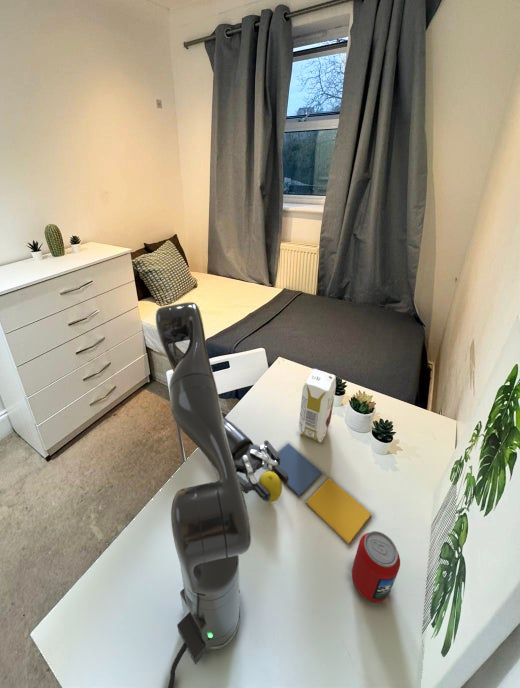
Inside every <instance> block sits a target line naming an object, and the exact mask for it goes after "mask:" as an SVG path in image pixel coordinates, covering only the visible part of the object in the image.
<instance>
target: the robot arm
mask: <svg viewBox="0 0 520 688" xmlns="http://www.w3.org/2000/svg"><path fill="white" fill-rule="evenodd" d="M155 326H156V331H157V335H158V338H159V341H160V343H161V346H162V349H163V351H164V354H165V356H166V358H167V361H168V363H169V364H170V366H171V370H172V374H171V377H170V379H169V384H168V385H169V386H168V387H169V399H170V411H171V415H172V417H173V420H174V421H175V423H176V424H177V426H178V427H179V428H180V429H181V431H182V432H183V433H184V434H185V435H186V436H187V437H188V438H189V439H190V440H191V441H192V442H193V443H194V444H195V445H196V446H197V448H198V449H199V450H200V451H201V452H202V454H203V455H204V456H205V458H206V459H207V461H208V463H209V465H210V467H211V468H212V470H213V473H214V475H215V477H216V480H215V481H210V482H207V483H201V484H198V485H197V484H196V485H193V486H188V487H184V488H181V489H179V490H178V491H177V492H176V493H175V494H174V496H173V499H172V503H171V511H170V521H171V522H170V523H171V532H172V533H171V534H172V537H173V543H174V547H175V551H176V555H177V558H178V562H179V565H180V574H181V579H182V580H181V581H182V586H183V588H182V589H181V590H180V592H179V595H180V600H181V601H180V602H181V607H182V614H183V618H182V619H181V620H180V621H179V622H178V623H177V624H176V625H177V627H176V628H177V632H178V634H179V636H180V638H181V640H182V642H183V644H182V646H181V647H180V649H179V650H178V653H177V654H176V655H175V658H174V660H173V662H172V665H171V668H170V673H169V678H170V679H169V682H168V685H167V688H174V685H175V681H176V670H177V667H178V666H179V663H180V661H181V659H182V657H183V656H184V654H185V652H186V651H188V653H189V656H190V658H191V659H192V661H193V663H194V665H197V664H198V663H199V662H200V660H201V659H202V658H203V657H204V656H205V655H206V654H207V653H208V652H209V651H217V650H221V649H223V648H225V647H226V646H228V645H229V644H230V643H231V642H232V641H233V640H234V637H235V636H236V635H237V632H238V629H239V626H240V621H241V606H240V592H241V590H240V555H242V554H245V553H246V552H248V551H249V549H250V547H251V543H252V542H251V541H252V529H251V528H252V527H251V521H250V517H249V512H248V507H247V503H246V500H245V497H244V494H248V493H249V492H251V491H253V492H255V494H257V496H258V497H259V498H260V499H261V500H263V501H264V502H267V501H269V500H270V497H271V495H270V493H269V492H268V491H267V490H266V489H265V488H264V487H263V486H262V485H261V484H260V483H259V481H257V479H256V477H255V473H256V472H257V471H258V470H260V469H262V470H267V471H272V472H274V473H276V474H277V475H278V476H279V478H280V480H281V483H283V484H284V485H287V483H288V480H289V478H288V474H287V473H286V472H285V471H284V470H283V469H282V468H281V467H280V466H279V465H280V455H279V454H278V452H277V450H276V449H275V448H274V447H273V445H272V444H271V442H270V441H269V440H267V439H266V440H264V441H263V444H260V445H257V444H255V443H254V442H253V441H252V440H251V439H250V438H249V437H248V436H247V435H246V434H245V433H244V432H243V431H242V430H241V429H240V428H239V427H238V426H237V425H235V423H233V422H231V421H230V420H229V419H228V418H227V417H225V416H224V414H223V412H222V406H221V402H220V396H219V392H218V387H217V382H216V380H215V376H214V372H213V369H212V368H213V367H212V365H211V360H210V357H209V352H208V347H207V341H206V335H205V328H204V322H203V317H202V313H201V310H200V308H199V305H197V304H196V303H195V302H192V301H188V302H182V303H176V304H175V303H174V304H171V305H165V306H161V307H158V309H157V310H156V312H155ZM187 341H189V343H188V346H187V348H186V350H185V352H184V351H183V350H182V349H181V348H180V347H179V346H178V345H177V343H181V342H187ZM266 454H267V455H266ZM238 473H241V474H244V475H245V478H246V479H244V478H243V477H242V476H240V475H239V474H238ZM265 500H266V501H265Z"/></svg>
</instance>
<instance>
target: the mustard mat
mask: <svg viewBox="0 0 520 688" xmlns="http://www.w3.org/2000/svg"><path fill="white" fill-rule="evenodd" d="M305 504H306V505H307V506H308V507H309V508H310V509H311V510H313V511H314V512H315V513H316V515H318V516H319V517H320V518H321V519H322V521H324V522H325V523H326V524H327V525H328V526H329V527H330V528H331V529H332V530H333V531H334V532H335V533H336V534H338V536H339V537H340V538H342V539H343V540H344V541H345V543H347V544H348V545H350V544H351V542H352V541H353V540H354V538H355V537H356V536H357V534H358V533H359V532H360V530H361V529H362V528H363V526H364V525H365V523H367V521H368V520H369V518H370V517H371V516H372V513H371V512H370V511H369V510H368V509H367V508H366V507H364V506H363V505H362V504H360V502H358V501H357V499H354V497H352V496H351V495H350V494H349V493H347V492H346V491H345V490H344V489H343V488H342V487H340V486H339V485H338V484H337V483H336V482H334V481H333V479H331V478H330V477H328V478H327V479H326V480H325V481H324V482H323V483H322V485H321V486H320V487H318V489H316V491H315V492H314V493H313V494H312V495H311V496H310V497H309V498H308V499H307V501H305Z"/></svg>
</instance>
